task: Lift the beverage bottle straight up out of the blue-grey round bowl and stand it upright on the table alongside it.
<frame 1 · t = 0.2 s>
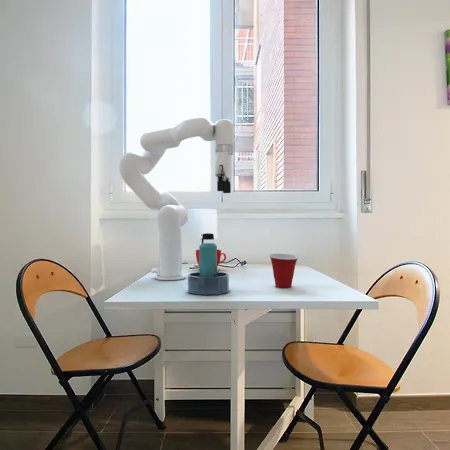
hand: (224, 192, 146), 37 cm above the table, tool pointing down, fingers open, 9 cm apart
beverage bottle: (208, 291, 123), resting on blue-grey round bowl
ceramic cup: (211, 270, 178), on the table
plastic cup: (283, 287, 131), on the table
blue-grey round bowl: (208, 291, 123), on the table
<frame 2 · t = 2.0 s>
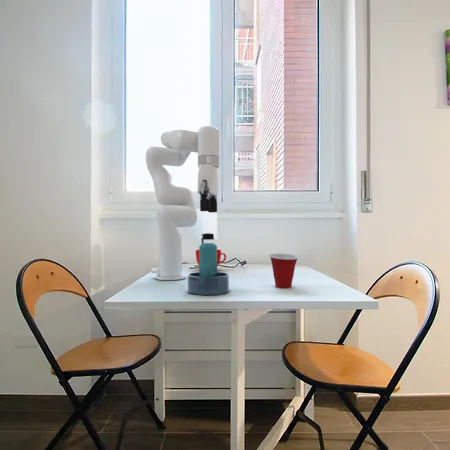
hand: (209, 211, 123), 28 cm above the table, tool pointing down, fingers open, 9 cm apart
nothing on the table moved.
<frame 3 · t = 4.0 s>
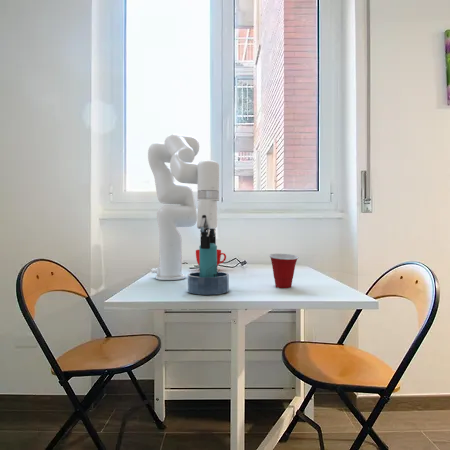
hand: (208, 247, 123), 15 cm above the table, tool pointing down, fingers closed on beverage bottle, 6 cm apart
beverage bottle: (208, 291, 123), resting on blue-grey round bowl, touching gripper
everything else where it was.
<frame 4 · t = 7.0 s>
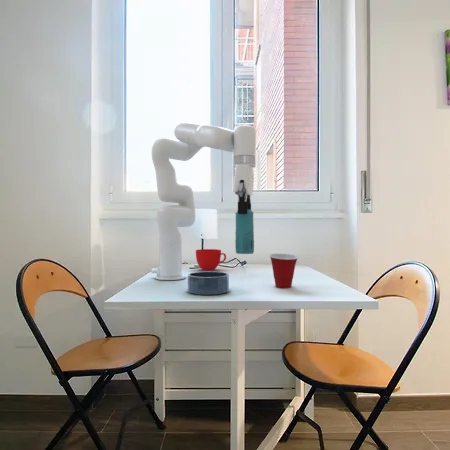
hand: (244, 213, 121), 27 cm above the table, tool pointing down, fingers closed on beverage bottle, 6 cm apart
beverage bottle: (244, 258, 121), point 12 cm above the table, touching gripper
everything else where it was.
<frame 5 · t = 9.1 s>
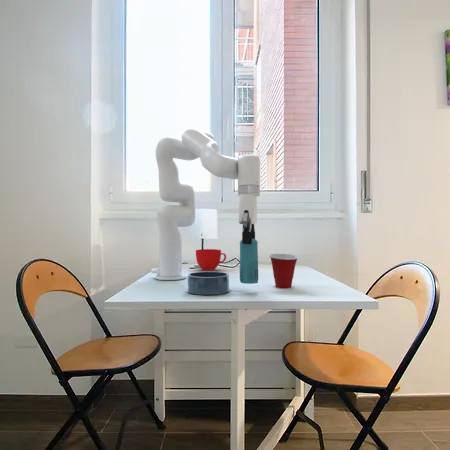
hand: (248, 242, 121), 17 cm above the table, tool pointing down, fingers closed on beverage bottle, 6 cm apart
beverage bottle: (248, 287, 121), point 2 cm above the table, touching gripper
everything else where it was.
when the fingers open (15 cm above the table, at t = 10.3 s): beverage bottle stays where it is, on the table.
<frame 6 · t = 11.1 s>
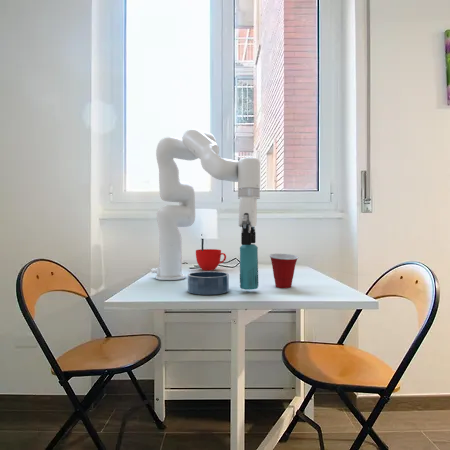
hand: (248, 243, 121), 17 cm above the table, tool pointing down, fingers open, 9 cm apart
beverage bottle: (248, 292, 121), on the table
everything else where it was.
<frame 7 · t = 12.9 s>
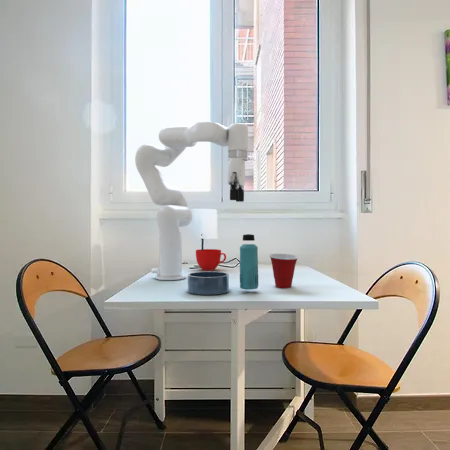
hand: (237, 200, 136), 32 cm above the table, tool pointing down, fingers open, 9 cm apart
nothing on the table moved.
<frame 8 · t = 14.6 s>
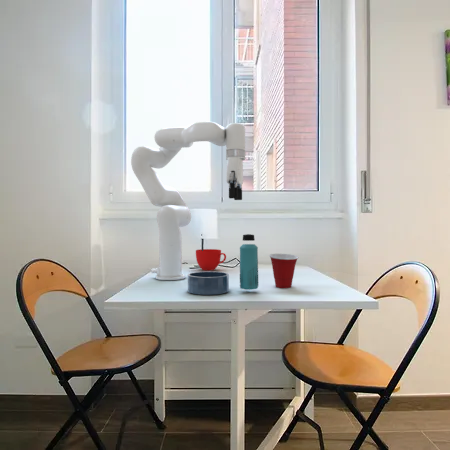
hand: (235, 199, 139), 33 cm above the table, tool pointing down, fingers open, 9 cm apart
nothing on the table moved.
at the end: beverage bottle inside the target area (0.0 cm from its centre), on the table; beverage bottle tilted 0° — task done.
